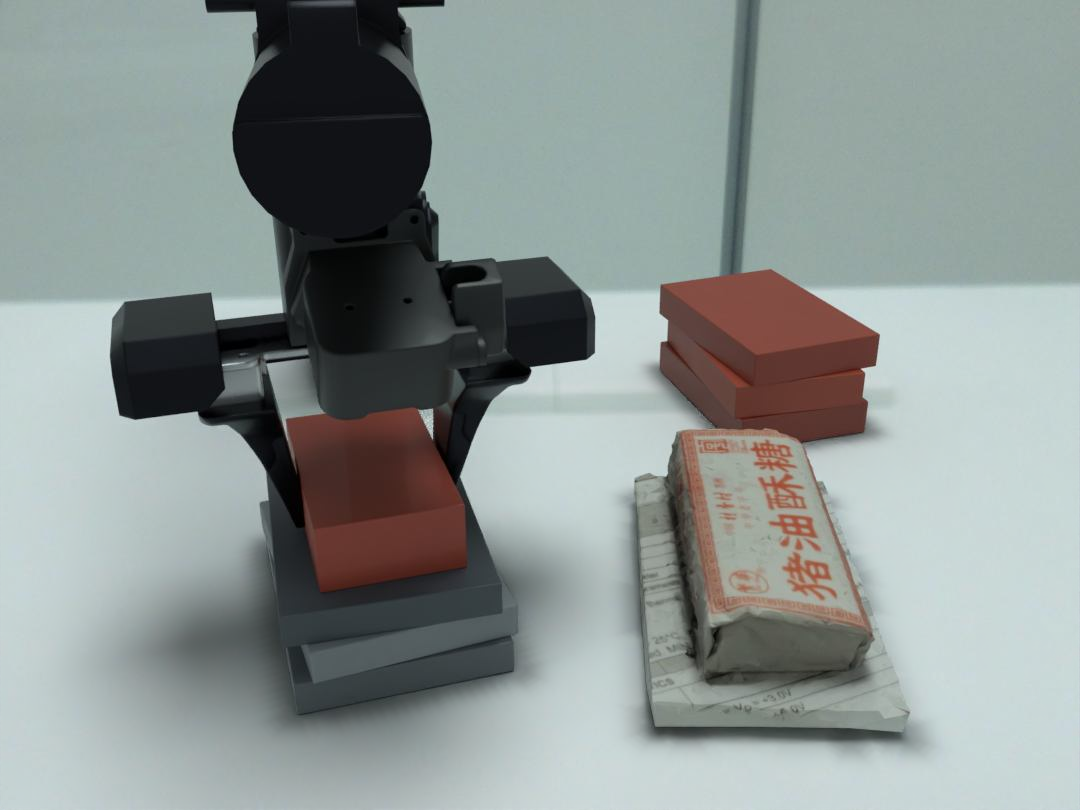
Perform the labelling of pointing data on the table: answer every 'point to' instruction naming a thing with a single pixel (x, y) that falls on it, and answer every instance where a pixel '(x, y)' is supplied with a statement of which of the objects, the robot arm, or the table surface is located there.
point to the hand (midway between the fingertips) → (372, 511)
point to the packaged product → (754, 593)
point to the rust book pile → (766, 355)
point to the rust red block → (375, 499)
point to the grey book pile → (386, 621)
